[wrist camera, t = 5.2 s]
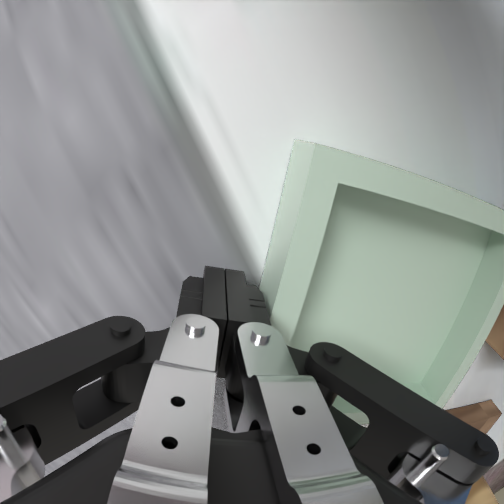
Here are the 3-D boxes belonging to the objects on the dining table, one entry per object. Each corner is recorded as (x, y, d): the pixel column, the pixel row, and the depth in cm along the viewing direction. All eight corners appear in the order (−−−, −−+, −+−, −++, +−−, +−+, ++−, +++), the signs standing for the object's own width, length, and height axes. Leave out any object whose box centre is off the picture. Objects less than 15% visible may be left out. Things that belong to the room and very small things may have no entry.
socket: (423, 414, 19) (434, 432, 17) (491, 399, 21) (502, 413, 19) (373, 476, 22) (380, 493, 21) (442, 459, 24) (450, 472, 22)
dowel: (430, 430, 21) (502, 566, 7) (461, 423, 21) (531, 543, 7) (408, 457, 22) (465, 585, 8) (438, 450, 23) (497, 564, 9)
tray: (294, 139, 12) (315, 143, 9) (498, 208, 14) (534, 224, 11) (235, 383, 16) (238, 425, 13) (419, 385, 18) (438, 414, 15)
